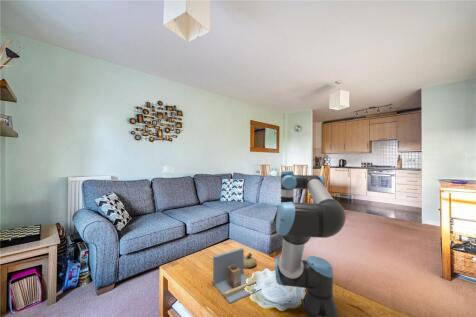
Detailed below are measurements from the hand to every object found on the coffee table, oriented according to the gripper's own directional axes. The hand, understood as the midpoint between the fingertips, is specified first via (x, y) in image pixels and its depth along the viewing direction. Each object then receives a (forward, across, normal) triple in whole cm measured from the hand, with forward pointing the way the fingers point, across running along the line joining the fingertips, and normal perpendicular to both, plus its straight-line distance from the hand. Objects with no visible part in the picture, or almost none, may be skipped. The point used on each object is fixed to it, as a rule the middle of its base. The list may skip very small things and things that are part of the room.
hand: (287, 231), depth 118 cm
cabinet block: (+28, +30, -13) cm, 43 cm away
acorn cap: (+29, +9, -27) cm, 41 cm away
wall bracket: (+29, +29, -11) cm, 42 cm away
